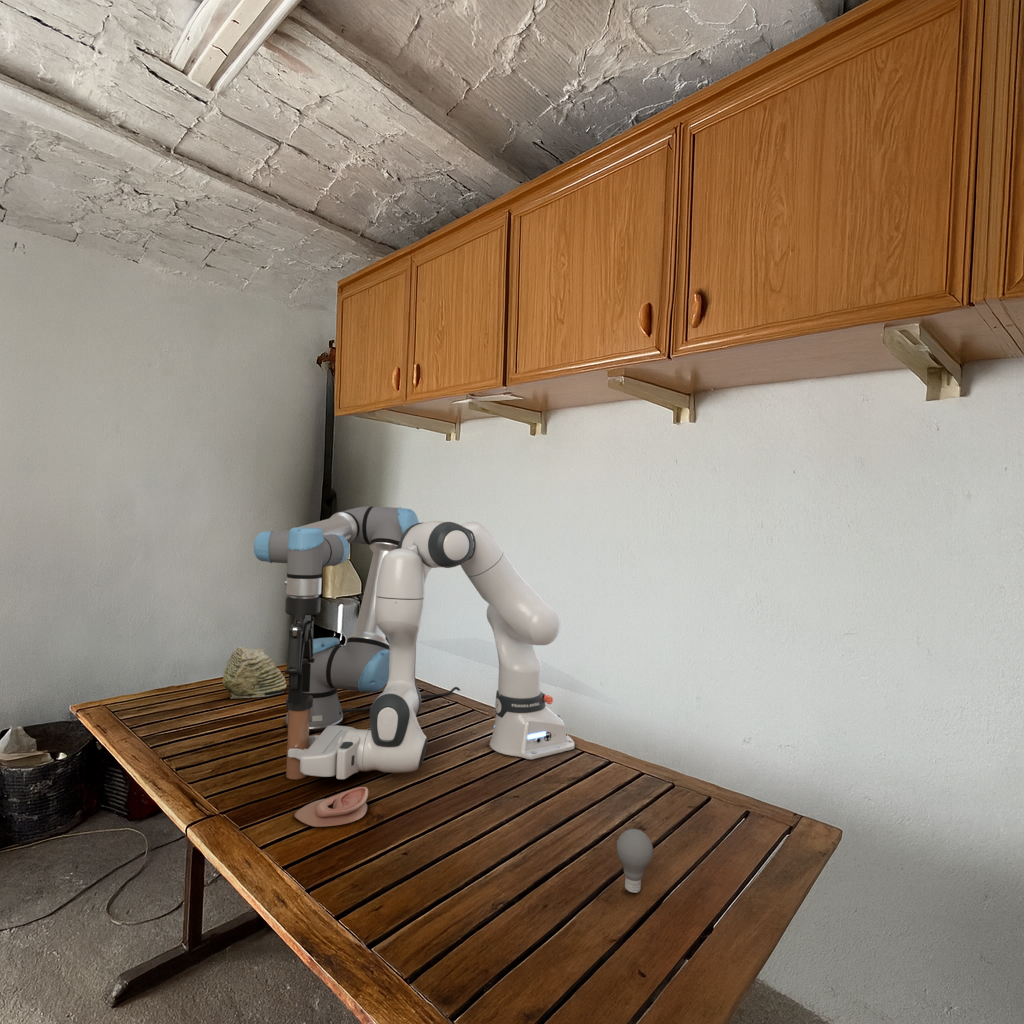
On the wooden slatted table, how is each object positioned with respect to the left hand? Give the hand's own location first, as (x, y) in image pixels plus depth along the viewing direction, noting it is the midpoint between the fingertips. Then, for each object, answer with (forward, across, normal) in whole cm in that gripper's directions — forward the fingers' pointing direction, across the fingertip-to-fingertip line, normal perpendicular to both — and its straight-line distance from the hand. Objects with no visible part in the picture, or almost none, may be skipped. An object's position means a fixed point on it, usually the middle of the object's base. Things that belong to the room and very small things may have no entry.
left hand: (299, 696), depth 143 cm
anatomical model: (+18, +18, +11) cm, 28 cm away
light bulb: (+18, +44, +65) cm, 81 cm away
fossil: (+17, -58, -26) cm, 66 cm away
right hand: (+11, 0, -1) cm, 11 cm away
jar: (+18, 0, 0) cm, 18 cm away
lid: (+1, 0, 0) cm, 1 cm away
